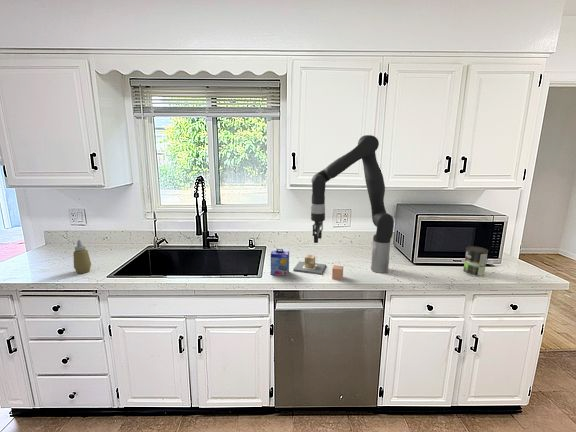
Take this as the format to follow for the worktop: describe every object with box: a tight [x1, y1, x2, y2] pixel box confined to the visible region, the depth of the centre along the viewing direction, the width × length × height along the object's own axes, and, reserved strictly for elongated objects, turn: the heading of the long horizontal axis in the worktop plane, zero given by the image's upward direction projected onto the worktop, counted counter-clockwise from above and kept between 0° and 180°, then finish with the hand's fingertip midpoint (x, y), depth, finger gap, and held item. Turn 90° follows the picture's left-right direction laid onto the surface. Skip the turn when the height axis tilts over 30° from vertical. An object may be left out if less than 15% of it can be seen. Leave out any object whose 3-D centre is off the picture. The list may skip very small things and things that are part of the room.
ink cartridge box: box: [270, 248, 290, 276], centre depth 170 cm, size 10×6×14 cm, turn 86°
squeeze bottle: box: [73, 239, 92, 275], centre depth 169 cm, size 8×8×18 cm
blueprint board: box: [292, 260, 327, 275], centre depth 178 cm, size 16×13×1 cm
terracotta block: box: [331, 264, 344, 281], centre depth 165 cm, size 5×5×6 cm
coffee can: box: [462, 245, 489, 278], centre depth 172 cm, size 10×10×14 cm
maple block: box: [304, 254, 316, 269], centre depth 177 cm, size 5×5×6 cm
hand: (317, 240), depth 172 cm, fingers open, 8 cm apart
